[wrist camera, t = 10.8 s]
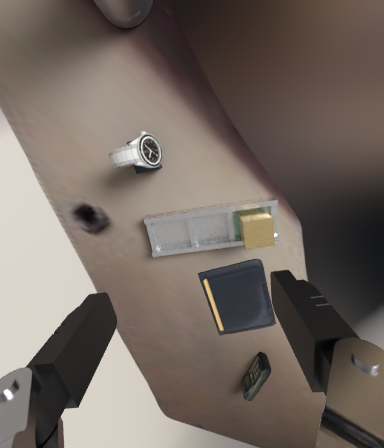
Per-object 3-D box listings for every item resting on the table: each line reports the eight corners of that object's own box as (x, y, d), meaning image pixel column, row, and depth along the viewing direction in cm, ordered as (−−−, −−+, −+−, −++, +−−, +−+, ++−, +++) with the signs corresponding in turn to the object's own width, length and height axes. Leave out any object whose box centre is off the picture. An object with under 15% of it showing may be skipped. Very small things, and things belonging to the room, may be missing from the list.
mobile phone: (263, 367, 49) (240, 406, 53) (274, 370, 49) (251, 409, 54) (257, 349, 54) (237, 386, 58) (268, 352, 54) (247, 389, 58)
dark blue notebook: (277, 329, 49) (217, 339, 51) (275, 323, 51) (217, 333, 53) (265, 259, 43) (197, 274, 45) (262, 255, 45) (197, 269, 47)
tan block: (236, 211, 40) (243, 222, 34) (261, 208, 40) (273, 218, 33) (238, 234, 42) (245, 249, 35) (262, 231, 41) (274, 245, 35)
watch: (171, 165, 39) (161, 168, 29) (133, 174, 40) (108, 180, 29) (164, 134, 37) (149, 126, 27) (123, 145, 38) (94, 140, 28)
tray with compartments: (147, 215, 42) (143, 219, 40) (272, 196, 40) (277, 199, 37) (155, 250, 45) (152, 257, 42) (273, 235, 43) (278, 240, 40)
